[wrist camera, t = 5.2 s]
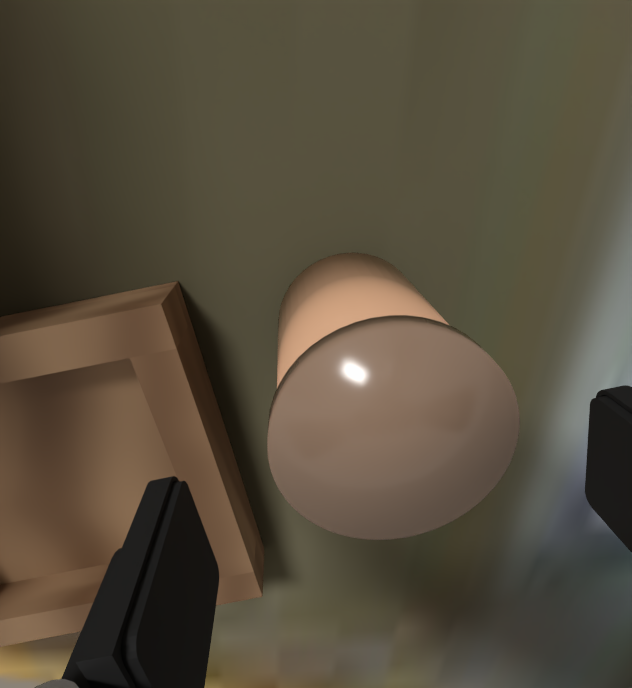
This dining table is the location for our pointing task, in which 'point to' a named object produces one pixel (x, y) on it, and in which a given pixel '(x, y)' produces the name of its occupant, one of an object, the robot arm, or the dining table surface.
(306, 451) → the tan rounded cylinder
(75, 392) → the walnut serving tray
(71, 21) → the dining table surface
